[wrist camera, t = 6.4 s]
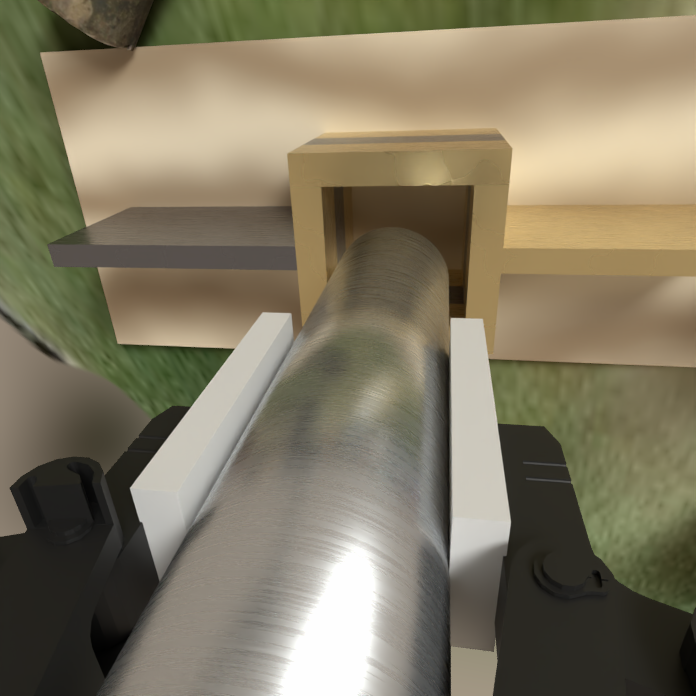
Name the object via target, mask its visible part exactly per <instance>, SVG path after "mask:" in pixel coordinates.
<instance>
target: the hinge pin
mask: <svg viewBox="0 0 696 696" xmlns="http://www.w3.org/2000/svg"><path fill="white" fill-rule="evenodd" d="M96 696H451V630H450V575H449V275H448V269H447V266H446V263H445V261H444V259H443V256H442V255H441V253H440V252H439V250H438V249H437V248H436V247H435V246H434V244H432V243H431V242H430V241H429V240H428V239H427V238H425V237H424V236H422V235H420V234H418V233H416V232H414V231H411V230H408V229H404V228H398V227H386V228H379V229H375V230H372V231H369V232H367V233H365V234H363V235H362V236H360V237H359V238H357V239H356V240H355V241H354V242H353V243H352V244H351V245H350V246H349V247H348V248H347V249H346V251H345V253H344V254H343V256H342V258H341V259H340V261H339V263H338V265H337V267H336V268H335V270H334V272H333V274H332V275H331V277H330V279H329V281H328V283H327V284H326V286H325V288H324V290H323V292H322V293H321V295H320V297H319V299H318V300H317V302H316V304H315V306H314V308H313V309H312V311H311V313H310V315H309V316H308V318H307V320H306V322H305V324H304V325H303V327H302V329H301V331H300V333H299V334H298V336H297V338H296V340H295V341H294V343H293V345H292V347H291V349H290V350H289V352H288V354H287V356H286V358H285V359H284V361H283V363H282V365H281V366H280V368H279V370H278V372H277V374H276V375H275V377H274V379H273V381H272V382H271V384H270V386H269V388H268V390H267V391H266V393H265V395H264V397H263V399H262V400H261V402H260V404H259V406H258V407H257V409H256V411H255V413H254V415H253V416H252V418H251V420H250V422H249V423H248V425H247V427H246V429H245V431H244V432H243V434H242V436H241V438H240V440H239V441H238V443H237V445H236V447H235V448H234V450H233V452H232V454H231V456H230V457H229V459H228V461H227V463H226V464H225V466H224V468H223V470H222V472H221V473H220V475H219V477H218V479H217V481H216V482H215V484H214V486H213V488H212V489H211V491H210V493H209V495H208V497H207V498H206V500H205V502H204V504H203V506H202V507H201V509H200V511H199V513H198V514H197V516H196V518H195V520H194V522H193V523H192V525H191V527H190V529H189V530H188V532H187V534H186V536H185V538H184V539H183V541H182V543H181V545H180V547H179V548H178V550H177V552H176V554H175V555H174V557H173V559H172V561H171V563H170V564H169V566H168V568H167V570H166V571H165V573H164V575H163V577H162V579H161V580H160V582H159V584H158V586H157V588H156V589H155V591H154V593H153V595H152V596H151V598H150V600H149V602H148V604H147V605H146V607H145V609H144V611H143V613H142V614H141V616H140V618H139V620H138V621H137V623H136V625H135V627H134V629H133V630H132V632H131V634H130V636H129V637H128V639H127V641H126V643H125V645H124V646H123V648H122V650H121V652H120V654H119V655H118V657H117V659H116V661H115V662H114V664H113V666H112V668H111V670H110V671H109V673H108V675H107V677H106V678H105V680H104V682H103V684H102V686H101V687H100V689H99V691H98V693H97V695H96Z"/></svg>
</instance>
